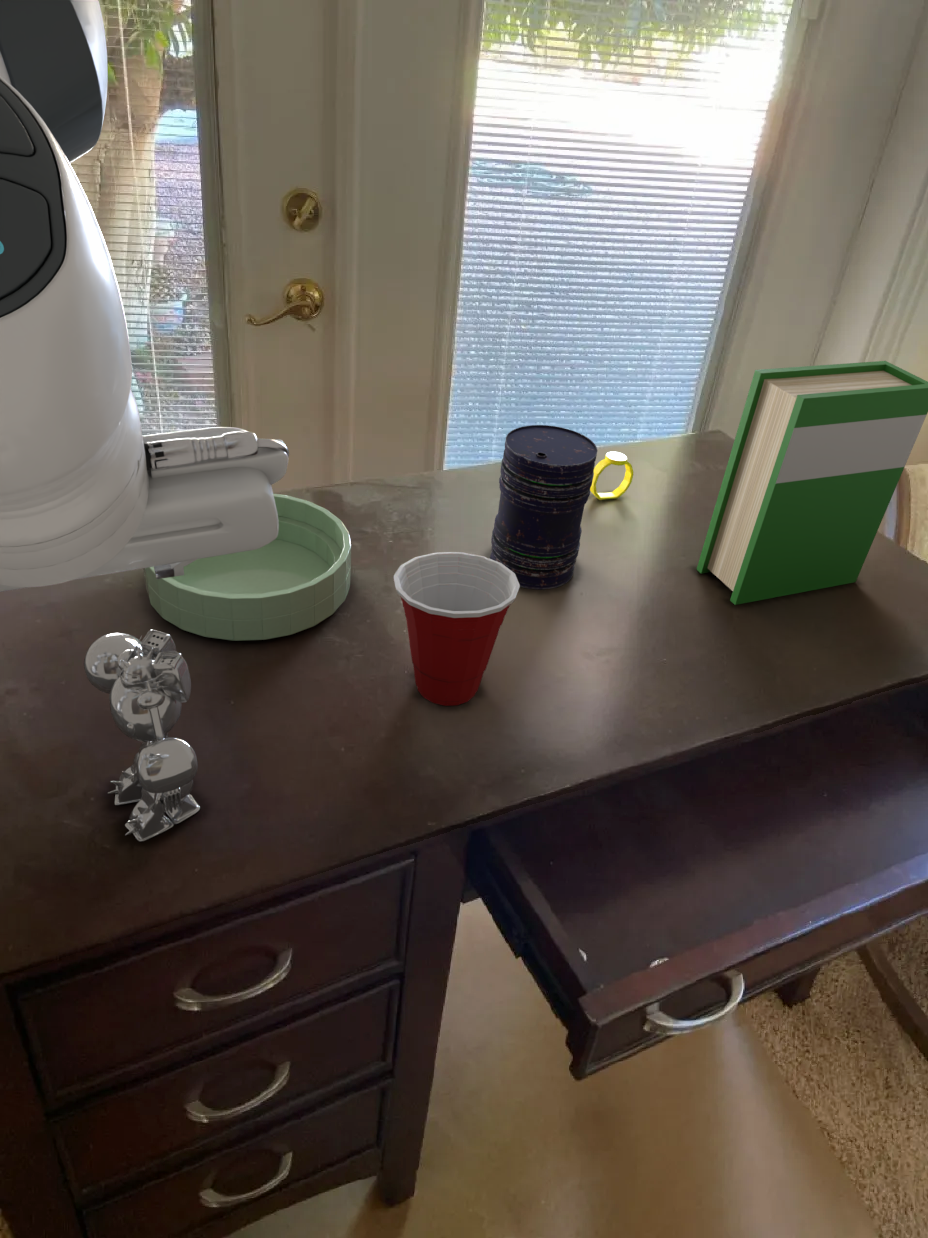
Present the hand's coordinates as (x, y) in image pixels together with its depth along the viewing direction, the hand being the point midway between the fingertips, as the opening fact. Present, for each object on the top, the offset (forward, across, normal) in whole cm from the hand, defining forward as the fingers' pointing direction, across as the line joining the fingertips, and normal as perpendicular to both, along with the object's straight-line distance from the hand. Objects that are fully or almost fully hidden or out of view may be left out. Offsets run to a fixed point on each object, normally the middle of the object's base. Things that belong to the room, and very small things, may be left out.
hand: (74, 579), depth 47 cm
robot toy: (+26, -1, +9) cm, 27 cm away
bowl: (+42, -14, -11) cm, 46 cm away
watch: (+50, -62, -16) cm, 81 cm away
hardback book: (+37, -72, +1) cm, 81 cm away
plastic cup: (+30, -28, +6) cm, 41 cm away
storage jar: (+41, -44, -7) cm, 61 cm away
